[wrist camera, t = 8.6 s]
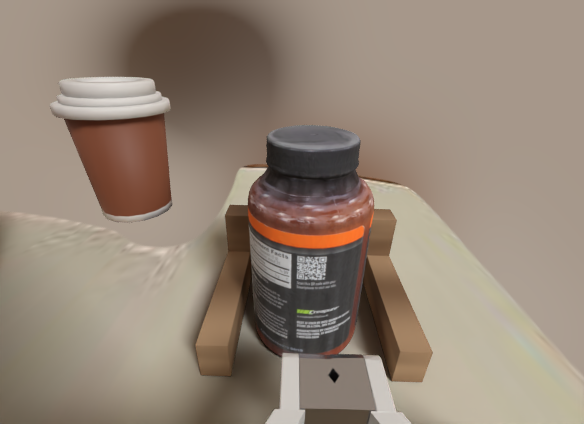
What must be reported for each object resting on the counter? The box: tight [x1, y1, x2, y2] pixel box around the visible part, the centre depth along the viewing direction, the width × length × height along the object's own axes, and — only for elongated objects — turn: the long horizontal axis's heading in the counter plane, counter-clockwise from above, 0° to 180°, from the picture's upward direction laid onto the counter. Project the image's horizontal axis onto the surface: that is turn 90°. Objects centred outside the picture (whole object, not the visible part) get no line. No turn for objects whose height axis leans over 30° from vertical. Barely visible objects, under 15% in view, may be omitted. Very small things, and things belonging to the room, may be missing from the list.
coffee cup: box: [50, 77, 172, 222], centre depth 28 cm, size 9×9×12 cm
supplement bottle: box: [248, 125, 374, 357], centre depth 15 cm, size 6×6×11 cm
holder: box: [195, 205, 433, 382], centre depth 18 cm, size 9×11×5 cm
